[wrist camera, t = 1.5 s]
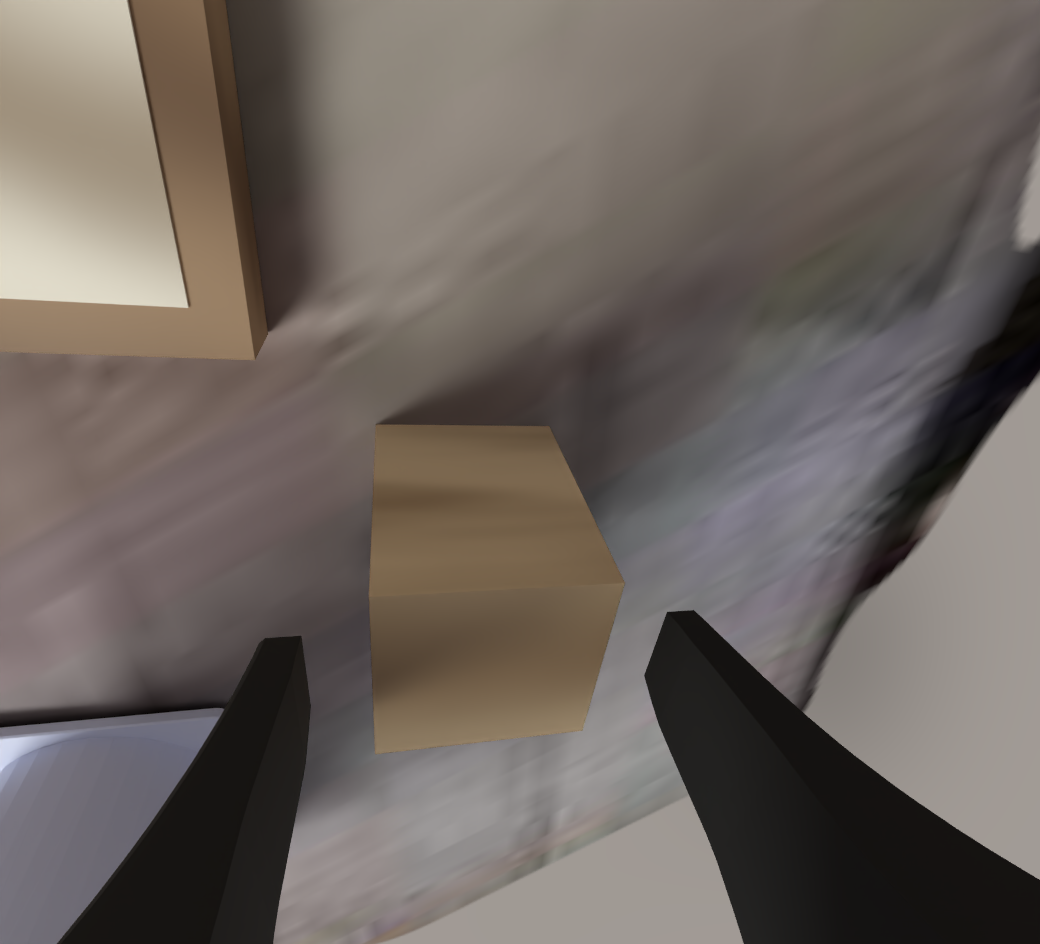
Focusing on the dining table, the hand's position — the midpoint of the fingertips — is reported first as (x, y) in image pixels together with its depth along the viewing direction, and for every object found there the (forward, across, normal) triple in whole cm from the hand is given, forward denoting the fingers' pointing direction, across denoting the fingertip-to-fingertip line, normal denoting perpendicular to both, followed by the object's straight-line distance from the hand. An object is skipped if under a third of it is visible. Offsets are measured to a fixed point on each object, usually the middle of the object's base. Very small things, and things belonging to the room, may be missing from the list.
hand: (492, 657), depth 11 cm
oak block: (+6, 0, 0) cm, 6 cm away
